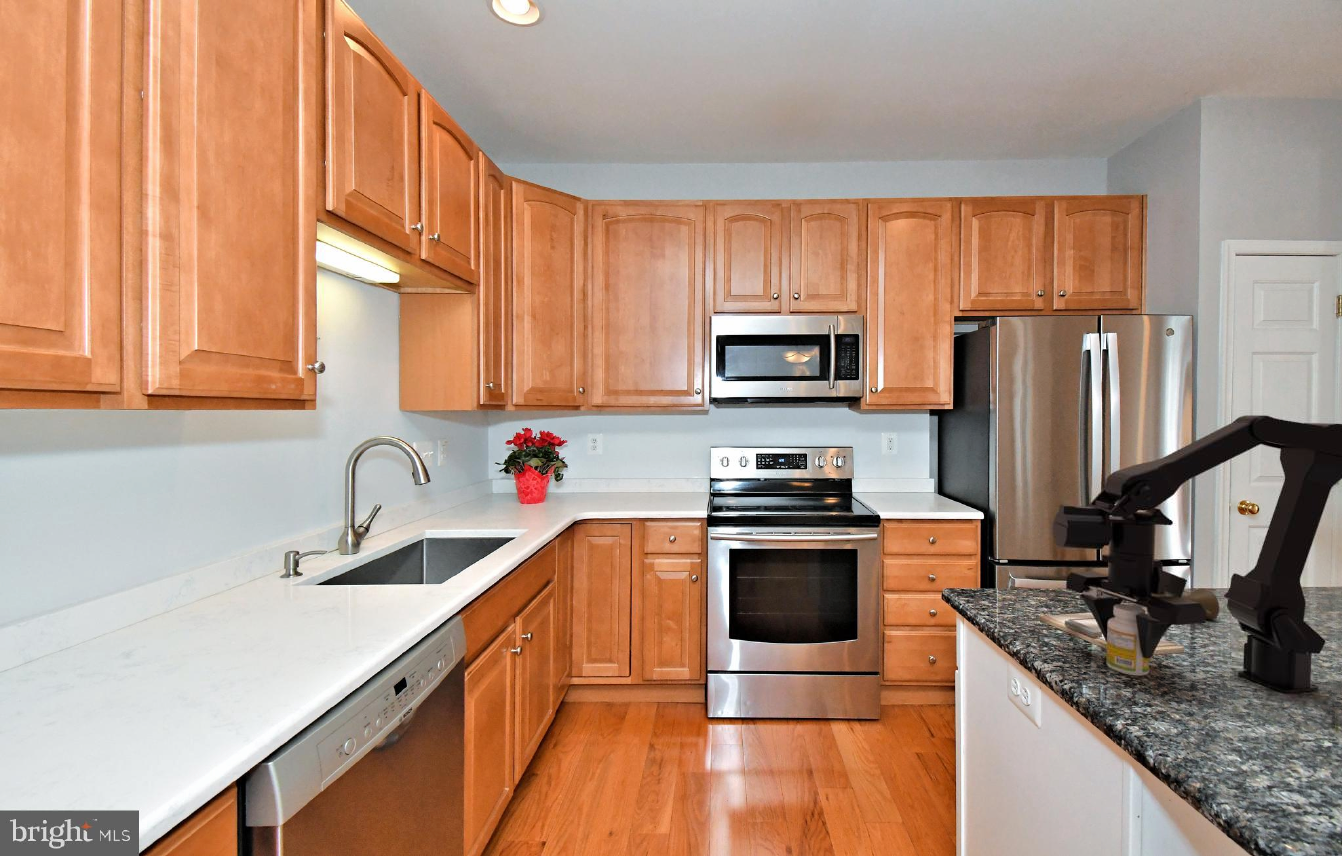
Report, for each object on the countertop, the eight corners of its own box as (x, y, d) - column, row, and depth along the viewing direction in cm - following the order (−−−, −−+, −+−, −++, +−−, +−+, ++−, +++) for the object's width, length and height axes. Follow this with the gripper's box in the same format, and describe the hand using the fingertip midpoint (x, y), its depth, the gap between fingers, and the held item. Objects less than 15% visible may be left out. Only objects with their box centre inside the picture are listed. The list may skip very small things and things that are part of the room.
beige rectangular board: (1184, 652, 103) (1184, 641, 102) (1124, 656, 100) (1125, 645, 100) (1091, 616, 120) (1091, 607, 120) (1038, 619, 118) (1039, 610, 118)
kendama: (1156, 599, 134) (1237, 629, 114) (1111, 599, 135) (1184, 629, 115) (1156, 572, 134) (1237, 597, 114) (1111, 572, 135) (1184, 597, 115)
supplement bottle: (1134, 662, 98) (1136, 603, 98) (1157, 677, 93) (1159, 614, 92) (1098, 661, 98) (1100, 601, 98) (1119, 675, 93) (1122, 612, 93)
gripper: (1238, 564, 87) (1234, 671, 88) (1119, 537, 106) (1116, 626, 106) (1175, 567, 85) (1171, 676, 86) (1064, 539, 104) (1062, 629, 104)
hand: (1127, 649), depth 95 cm, fingers open, 6 cm apart
